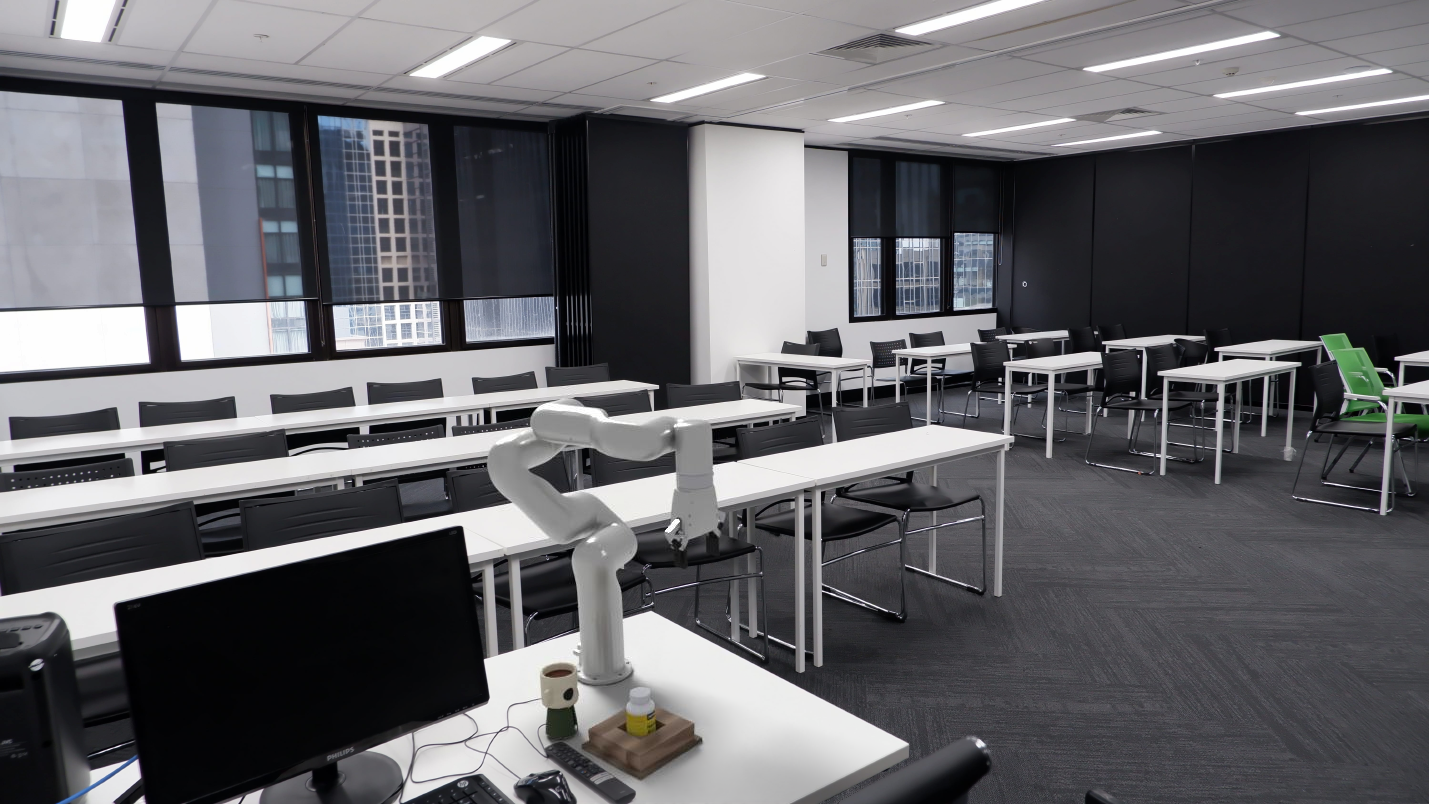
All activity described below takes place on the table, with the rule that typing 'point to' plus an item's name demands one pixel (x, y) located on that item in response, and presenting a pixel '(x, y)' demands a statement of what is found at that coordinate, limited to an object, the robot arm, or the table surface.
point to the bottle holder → (641, 743)
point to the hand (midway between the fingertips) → (697, 560)
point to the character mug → (560, 698)
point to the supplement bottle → (640, 713)
